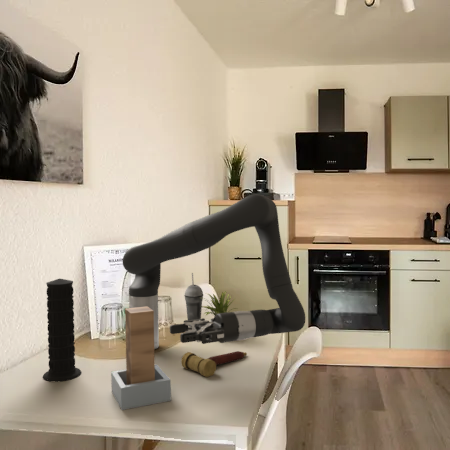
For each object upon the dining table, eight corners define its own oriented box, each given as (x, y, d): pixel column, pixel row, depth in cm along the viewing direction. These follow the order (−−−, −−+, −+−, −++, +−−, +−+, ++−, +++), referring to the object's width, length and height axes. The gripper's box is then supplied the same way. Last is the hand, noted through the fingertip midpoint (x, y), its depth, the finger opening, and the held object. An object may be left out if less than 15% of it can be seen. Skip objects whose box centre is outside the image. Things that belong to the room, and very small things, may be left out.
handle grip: (88, 374, 127) (71, 365, 135) (85, 278, 126) (68, 274, 133) (52, 384, 120) (36, 374, 128) (49, 282, 119) (33, 278, 126)
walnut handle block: (126, 389, 114) (125, 308, 113) (148, 385, 116) (147, 306, 116) (132, 398, 109) (130, 313, 108) (155, 393, 111) (153, 310, 111)
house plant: (203, 330, 171) (203, 286, 170) (241, 331, 169) (240, 286, 168) (195, 341, 157) (195, 293, 156) (236, 343, 155) (236, 294, 154)
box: (111, 391, 116) (111, 371, 115) (157, 383, 120) (156, 364, 120) (121, 410, 105) (121, 388, 105) (170, 400, 110) (170, 379, 110)
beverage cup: (189, 328, 173) (188, 275, 172) (181, 324, 180) (181, 272, 179) (207, 326, 176) (206, 273, 176) (199, 322, 183) (198, 271, 182)
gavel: (235, 342, 145) (258, 349, 138) (234, 357, 145) (257, 365, 138) (181, 353, 131) (204, 361, 124) (180, 369, 131) (203, 379, 124)
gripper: (223, 306, 129) (166, 312, 122) (246, 317, 116) (184, 325, 109) (223, 333, 129) (167, 341, 123) (246, 347, 116) (185, 357, 110)
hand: (175, 333), depth 116 cm, fingers open, 8 cm apart
